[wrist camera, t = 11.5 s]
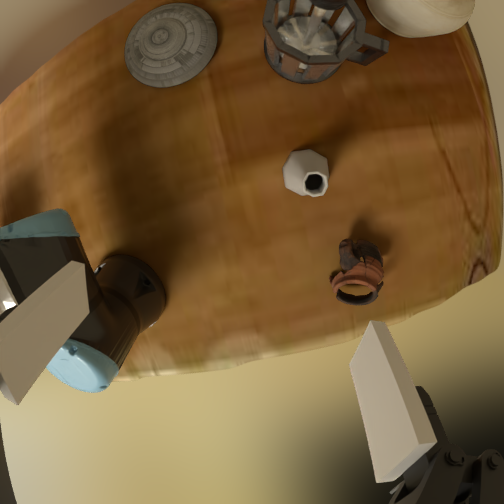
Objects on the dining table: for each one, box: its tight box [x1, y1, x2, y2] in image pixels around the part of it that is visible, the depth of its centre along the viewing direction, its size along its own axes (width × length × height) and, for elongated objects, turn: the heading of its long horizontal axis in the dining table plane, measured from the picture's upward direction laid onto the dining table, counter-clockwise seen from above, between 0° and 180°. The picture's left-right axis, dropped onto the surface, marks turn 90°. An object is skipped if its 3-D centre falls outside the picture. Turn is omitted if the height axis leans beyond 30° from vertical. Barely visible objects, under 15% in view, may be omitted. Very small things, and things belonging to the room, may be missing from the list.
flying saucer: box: [125, 3, 217, 88], centre depth 34 cm, size 15×15×6 cm
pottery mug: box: [329, 239, 384, 305], centre depth 46 cm, size 12×10×8 cm
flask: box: [282, 149, 329, 197], centre depth 39 cm, size 7×7×10 cm
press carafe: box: [263, 0, 389, 84], centre depth 30 cm, size 15×12×13 cm
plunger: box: [278, 0, 347, 70], centre depth 24 cm, size 8×8×21 cm
